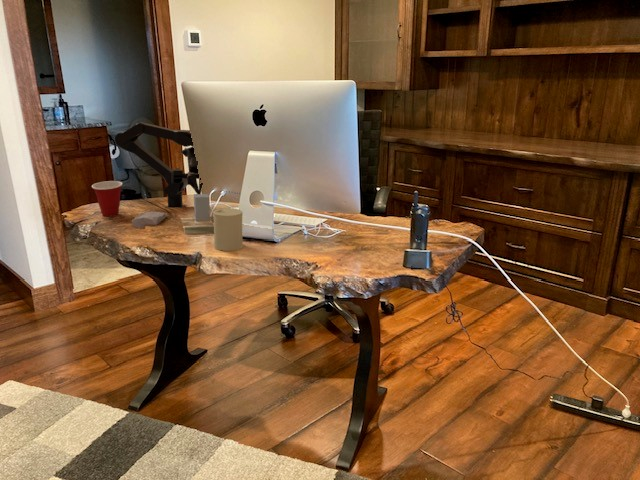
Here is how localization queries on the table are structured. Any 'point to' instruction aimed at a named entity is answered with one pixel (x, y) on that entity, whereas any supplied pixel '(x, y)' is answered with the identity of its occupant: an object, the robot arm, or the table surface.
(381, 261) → the table surface
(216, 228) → the can
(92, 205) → the table surface
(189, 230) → the trap board
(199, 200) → the slate block
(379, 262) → the table surface
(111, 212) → the plastic cup
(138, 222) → the stone block
